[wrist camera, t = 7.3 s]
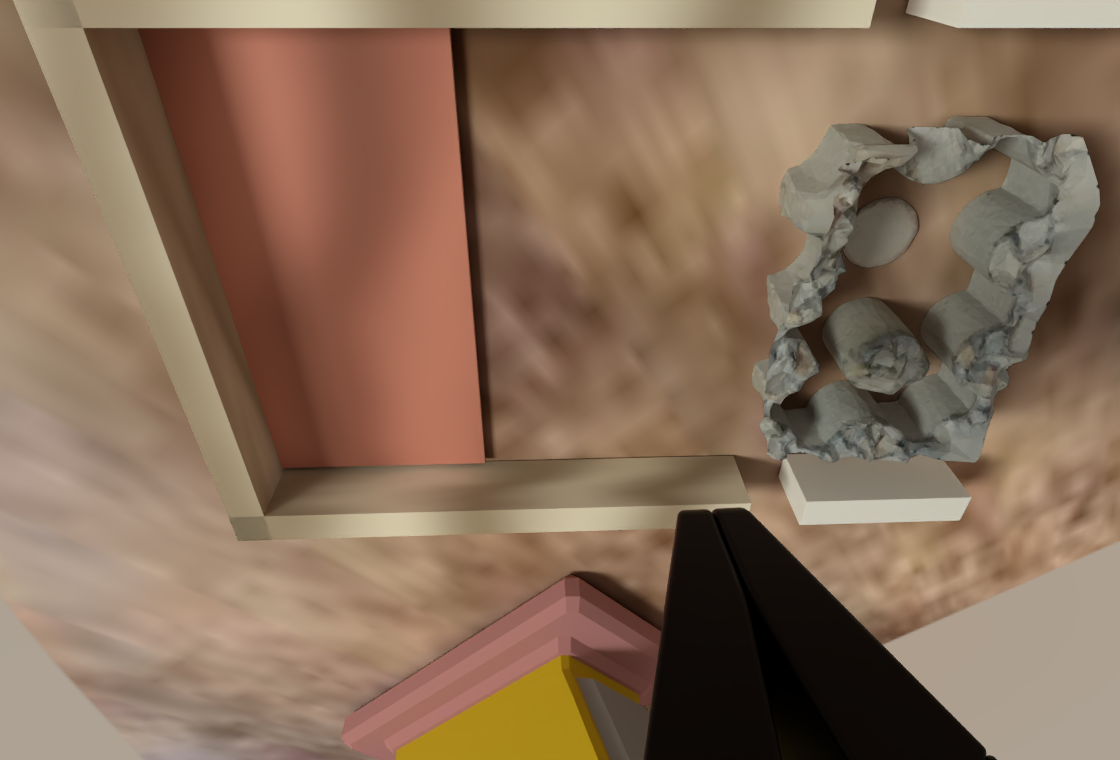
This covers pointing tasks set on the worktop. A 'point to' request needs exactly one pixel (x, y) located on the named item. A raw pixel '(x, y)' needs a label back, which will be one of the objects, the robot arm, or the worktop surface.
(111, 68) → the channel
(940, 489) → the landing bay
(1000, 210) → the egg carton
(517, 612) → the retro mantel clock
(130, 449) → the worktop surface
